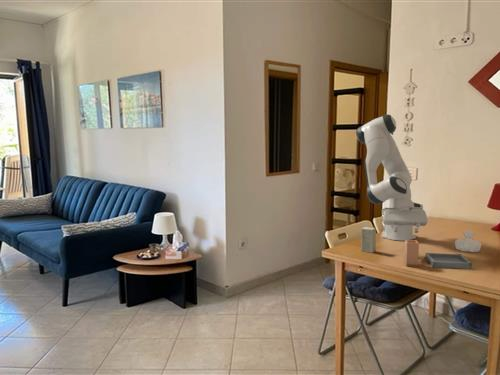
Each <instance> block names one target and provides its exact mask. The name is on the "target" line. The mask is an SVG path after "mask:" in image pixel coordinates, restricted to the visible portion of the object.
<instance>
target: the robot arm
mask: <svg viewBox="0 0 500 375" xmlns="http://www.w3.org/2000/svg"><path fill="white" fill-rule="evenodd" d="M396 129H397V122H396V120H395V118H394V117H393V116H392V115H391V114H384V115H381V116H379V117H376V118H374V119H372V120H370V121H368V122H366V123H365V124H363V125H360V126H359V127H358V128H357V129H356V132H355V136H356V139H357V140H358V142H359V143H360V144H362V145H365V147H366V157H365V160H364V171H365V172H364V173H365V179H366V197H367V199H368V201H369V202H370V203H372V204H374V205H379V206H380V205H381V204H383V203H385V202H386V201H388V200H389V203H388V204H389V205H388V207H384V208H382V209H381V214H382V215H383V217H382V223H383V231H382V233H381V238H382V239H388V240H391V241H392V240H393V241H400V242H401V241H403V242H405V240H415V239H417V237H416V236H415V235H414V234H418V233H419V229H420V227H425V226H427V225H428V215H427V213H426V211H425V210H424V206H423V204H420V203H418V202H414V201H413V200H412V190H411V184H412V180H413V178H412V177H413V176H412V174H411V173H410V171H409V168H408V167H407V166H408V165H407V164H406V163H405V161H404V159H403V157H402V154H401V152H400V150H399V147H398V146H397V143H396V141H395V140H394V138H393V135H394V132H395V131H396ZM380 164H382V166H383V168H384V169H385V171H386V172H387V174H388V177H387V178H385V179H383V180H382V181H379V182H378V178H377V169H378V167H379V166H380ZM415 226H416V227H415Z"/></svg>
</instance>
